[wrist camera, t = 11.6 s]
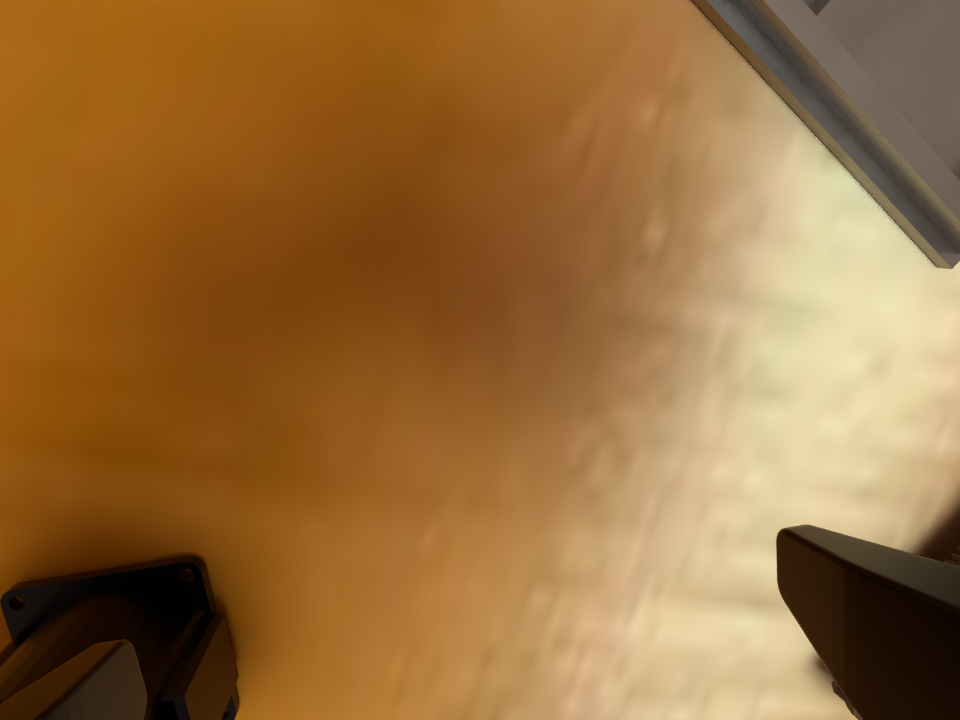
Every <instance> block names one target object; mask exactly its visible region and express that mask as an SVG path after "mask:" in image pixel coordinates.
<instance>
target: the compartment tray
mask: <svg viewBox="0 0 960 720" xmlns="http://www.w3.org/2000/svg"><path fill="white" fill-rule="evenodd" d="M692 1H693V2H694V3H695V4H696V5H697V6H698V7H699V8H700V10H701V11H702V12H703V13H704V14H705V15H706V16H707V17H708V18H709V19H710V20H711V22H712V23H713V24H714V25H715V26H716V27H717V28H718V29H719V30H720V31H721V32H722V33H723V35H724V36H725V37H726V38H727V39H728V40H729V41H730V42H731V43H732V44H733V45H734V47H735V48H736V49H737V50H738V51H739V52H740V53H741V54H742V55H743V56H744V57H745V58H746V60H747V61H748V62H749V63H750V64H751V65H752V66H753V67H754V68H755V69H756V70H757V72H758V73H759V74H760V75H761V76H762V77H763V78H764V79H765V80H766V81H767V82H768V83H769V85H770V86H771V87H772V88H773V89H774V90H775V91H776V92H777V93H778V94H779V95H780V97H781V98H782V99H783V100H784V101H785V102H786V103H787V104H788V105H789V106H790V107H791V108H792V110H793V111H794V112H795V113H796V114H797V115H798V116H799V117H800V118H801V119H802V120H803V122H804V123H805V124H806V125H807V126H808V127H809V128H810V129H811V130H812V131H813V132H814V133H815V135H816V136H817V137H818V138H819V139H820V140H821V141H822V142H823V143H824V144H825V145H826V147H827V148H828V149H829V150H830V151H831V152H832V153H833V154H834V155H835V156H836V157H837V158H838V160H839V161H840V162H841V163H842V164H843V165H844V166H845V167H846V168H847V169H848V170H849V172H850V173H851V174H852V175H853V176H854V177H855V178H856V179H857V180H858V181H859V182H860V183H861V185H862V186H863V187H864V188H865V189H866V190H867V191H868V192H869V193H870V194H871V195H872V197H873V198H874V199H875V200H876V201H877V202H878V203H879V204H880V205H881V206H882V207H883V208H884V210H885V211H886V212H887V213H888V214H889V215H890V216H891V217H892V218H893V219H894V220H895V222H896V223H897V224H898V225H899V226H900V227H901V228H902V229H903V230H904V231H905V232H906V233H907V235H908V236H909V237H910V238H911V239H912V240H913V241H914V242H915V243H916V244H917V245H918V247H919V248H920V249H921V250H922V251H923V252H924V253H925V254H926V255H927V256H928V257H929V258H930V260H931V261H932V262H933V263H934V264H935V265H936V266H937V267H938V268H947V269H952V268H953V267H954V266H955V265H956V264H957V263H958V262H959V261H960V0H692Z"/></svg>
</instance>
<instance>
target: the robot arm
mask: <svg viewBox="0 0 960 720" xmlns="http://www.w3.org/2000/svg"><path fill="white" fill-rule="evenodd" d="M776 549H777V582H778V588H779V591H780V594H781V596H782V598H783V600H784V602H785V603H786V605H787V606H788V608H789V609H790V611H791V613H792V614H793V616H794V617H795V619H796V621H797V622H798V624H799V625H800V627H801V628H802V630H803V632H804V633H805V635H806V636H807V638H808V639H809V641H810V643H811V644H812V646H813V647H814V649H815V651H816V652H817V654H818V655H819V657H820V658H821V660H822V662H823V663H824V665H825V666H826V668H827V670H828V671H829V673H830V674H831V676H832V677H833V679H834V680H835V682H836V683H837V685H838V686H839V688H840V689H841V691H842V692H843V694H844V695H845V696H846V698H847V699H848V700H849V702H850V703H851V705H852V706H853V707H854V709H855V710H856V711H857V713H858V714H859V715H860V716H861V718H862V719H863V720H960V567H958V566H954V565H951V564H947V563H944V562H940V561H936V560H933V559H929V558H926V557H922V556H919V555H915V554H911V553H908V552H904V551H901V550H897V549H894V548H890V547H887V546H883V545H879V544H876V543H872V542H869V541H865V540H862V539H858V538H854V537H851V536H847V535H844V534H840V533H837V532H833V531H830V530H826V529H822V528H819V527H815V526H812V525H800V526H794V527H788V528H783V529H781V530H780V531H779V532H778V535H777V540H776ZM183 569H190V570H192V571H193V573H194V576H188V575H186V574H185V573H184V572H183ZM16 597H20V598H22V599H23V600H24V601H25V603H21V602H19V601H18V600H17V598H16ZM1 607H2V610H3V613H4V616H5V619H6V622H7V625H8V628H9V632H10V635H11V638H12V641H11V642H10V643H9V644H8V645H7V646H6V648H5V649H4V650H3V651H2V652H1V653H0V720H234V719H235V717H236V714H237V712H238V709H239V700H238V696H237V692H236V688H235V684H236V681H237V679H238V670H237V666H236V662H235V658H234V654H233V649H232V645H231V641H230V637H229V633H228V629H227V625H226V621H225V617H224V616H223V615H222V614H221V613H220V612H219V611H216V607H215V603H214V599H213V595H212V591H211V587H210V583H209V579H208V575H207V571H206V567H205V565H204V563H203V561H201V560H200V559H199V558H197V557H194V556H185V557H179V558H173V559H166V560H160V561H154V562H148V563H142V564H135V565H129V566H123V567H117V568H111V569H105V570H98V571H92V572H86V573H80V574H74V575H67V576H61V577H55V578H49V579H43V580H37V581H30V582H24V583H19V584H16V585H14V586H13V587H12V588H10V589H9V590H8V591H7V592H6V593H5V594H4V595H3V596H2V598H1ZM225 709H228V711H225Z"/></svg>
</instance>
